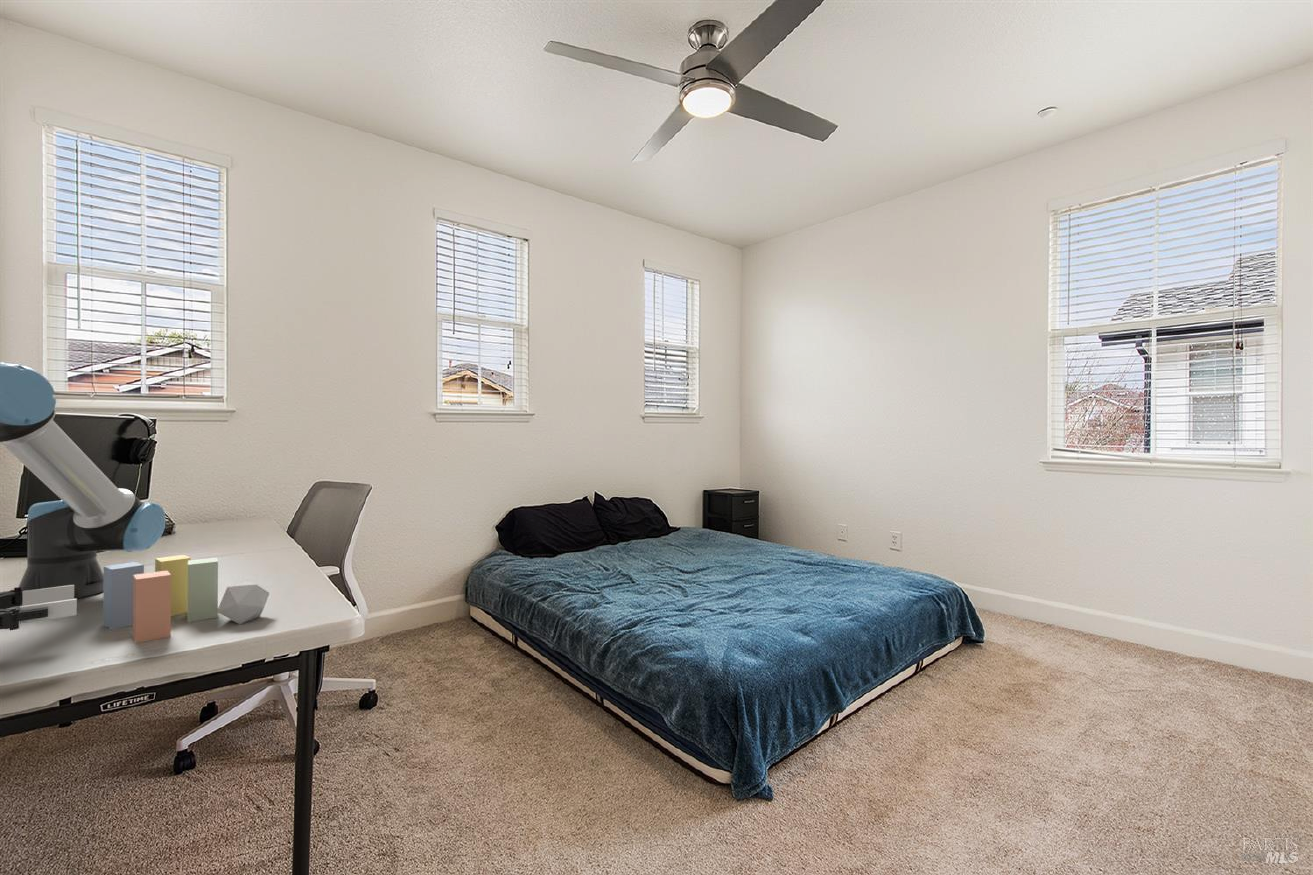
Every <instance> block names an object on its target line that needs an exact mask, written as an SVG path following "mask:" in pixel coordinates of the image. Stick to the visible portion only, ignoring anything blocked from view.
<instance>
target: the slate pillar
mask: <svg viewBox="0 0 1313 875" xmlns="http://www.w3.org/2000/svg"><path fill="white" fill-rule="evenodd" d="M103 573H104V591H103V602H102V604H103V607H102V608H103V611H102V612H103V620H102V621H103V626H105V627H107V628H109V629H111V630H113V629H118V628H123V627H124V628H125V627H128V626H133V575H136V574H144V573H145V565H144V564H142V563H140V562H137V561H131V562H125V563H117V564H112V565H111V564H109V565H104V566H103Z"/></svg>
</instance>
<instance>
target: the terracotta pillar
mask: <svg viewBox="0 0 1313 875" xmlns="http://www.w3.org/2000/svg"><path fill="white" fill-rule="evenodd" d="M171 617H172V616H171V574H170V573H169V572H168V571H159V572H155V571H153V572H146V573H145V572H144V574H136V575H133V625H132V638H133V640H134V642H135V644H138V643H139V644H140V643H144V642H149V641H153V640H159V639H166V638H169V637H171V633H172V632H171V630H172V628H171V627H172V626H171V624H172V623H171V622H172V621H171V620H172V618H171Z"/></svg>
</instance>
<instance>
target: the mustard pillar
mask: <svg viewBox="0 0 1313 875" xmlns="http://www.w3.org/2000/svg"><path fill="white" fill-rule="evenodd" d="M188 560H192V559H191V557H190V556H187V555H185V554H180V555H179V554H178V555H172V556H171V555H170V556H165V557H158V558H157V557H156V558H154V572H159V571H168V572H169V573H170V574H171V617H172V616H177V615H183V614H188Z"/></svg>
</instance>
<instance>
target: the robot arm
mask: <svg viewBox="0 0 1313 875" xmlns="http://www.w3.org/2000/svg"><path fill="white" fill-rule="evenodd" d="M55 394H56V393H55V390H54V388H53V385H52V383H50V381H49V380H48V379H47V378H46V377H45V376H44V375H42V374H41V373H40V372H38V371H37V370H35V369H33V368H31V367H29V366H28V367H27V366H26V365H20V364H13V363H7V362H0V445H2V446H3V447H4V448H5V449H6V450H7V451H9V452H10V453H11V454H12V456H14V457H15V458H16V459H18V461H19V462H20V463H21V464H23V465H24V466H25V468H26V469H27V470H29V471H30V472H31V473H32V474H33V475H34V476H36V478H38V479H39V480H40V481H41V482H42V483H43V484H44V485H45V486H46V487H47V488H48V489H49V490H50V491H52V492H53V493H54V495H56V496H57V497H58V498H59V499H60V500H53V501H45V502H37V503H34V504H32V505H30V507H29V509H28V510H27V519H26V544H27V548H26V549H27V550H26V551H27V556H26V557H27V566H26V569H25V572H24V573H23V576H22V578H21V579H20V582H19V585H18V586H17V587H14V588H13V589H10V590H6V591H1V592H0V630H9V631H14V630H16V631H17V630H19V629H20V625H21V624H27V623H34V622H39V621H46V620H53V619H60V618H66V617H73V616H77V608H78V607H77V606H78V603H77V602H78V599H79V598H84V597H88V596H93V595H96V594H99V593H102V592H104V570H102V567H101V565H100V564H99V561H98V552H127V553H131V552H142V551H145V550H149V549H150V548H151V547H154V546H155V544H156V543H158V541H159V540H160V539H161V537H162V535H163V533H164V530H165V527H166V522H167V521H166V519H167V518H166V513H165V510H164V508H163V507H162V506H161V505H160V504H158V503H156V502H149V501H148V502H143V501H141V500H140V499H139V498H138V497H137V496H136V495H135V493H133V492H132V491H131V490H129V489H127V488H121V487H119V488H118V487H117V485H115V483H113V482H112V481H111V480H110V479H109V477H108V476H107V475H105V474H104V473H103V471H102V470H101V469H100V468H99V467H98V466H97V465H96V464H95V463H94V462H93V461H92V460H91V458H89V457H88V455H87V454H86V453H85V452H83V450H82V449H81V448H80V447H79V446H78V445H77V444H76V443H75V442H74V441H73V439H71V438H70V436H68V435H67V433H66V432H64V430H63V429H62V428H61V427H60V426H59V425H58V424H57V423H56V422H55V420H54V418H55V416H56V403H57V399H56V398H54V396H53V395H55ZM15 607H19V608H15Z"/></svg>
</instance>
